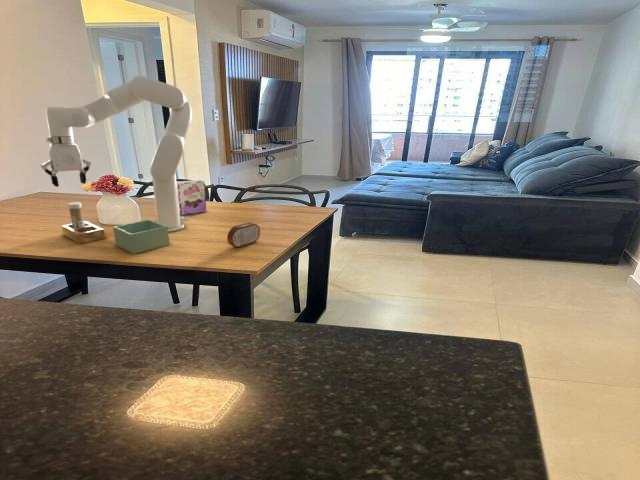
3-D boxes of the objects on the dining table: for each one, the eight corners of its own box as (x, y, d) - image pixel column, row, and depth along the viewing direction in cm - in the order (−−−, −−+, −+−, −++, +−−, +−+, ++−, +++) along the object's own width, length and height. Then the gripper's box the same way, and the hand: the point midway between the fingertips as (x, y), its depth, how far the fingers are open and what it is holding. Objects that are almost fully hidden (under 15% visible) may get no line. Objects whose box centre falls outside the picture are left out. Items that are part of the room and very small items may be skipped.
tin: (256, 239, 159) (255, 220, 156) (261, 241, 157) (261, 221, 154) (227, 248, 148) (226, 227, 145) (232, 250, 146) (231, 229, 143)
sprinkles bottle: (86, 235, 159) (81, 203, 155) (74, 236, 156) (67, 205, 152) (86, 232, 162) (80, 201, 158) (73, 233, 160) (67, 202, 156)
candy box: (180, 216, 191) (177, 183, 185) (176, 213, 195) (173, 181, 190) (206, 212, 199) (204, 180, 194) (202, 209, 203) (200, 179, 198)
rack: (87, 229, 166) (86, 221, 164) (105, 238, 155) (104, 229, 154) (63, 234, 159) (61, 225, 157) (80, 244, 148) (78, 234, 147)
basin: (151, 236, 159) (148, 219, 157) (169, 244, 150) (167, 226, 148) (115, 245, 148) (112, 226, 146) (133, 253, 140) (131, 234, 137)
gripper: (39, 142, 139) (48, 188, 144) (90, 140, 152) (97, 183, 157) (32, 140, 143) (41, 185, 148) (83, 139, 156) (89, 181, 161)
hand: (70, 184), depth 153 cm, fingers open, 9 cm apart
